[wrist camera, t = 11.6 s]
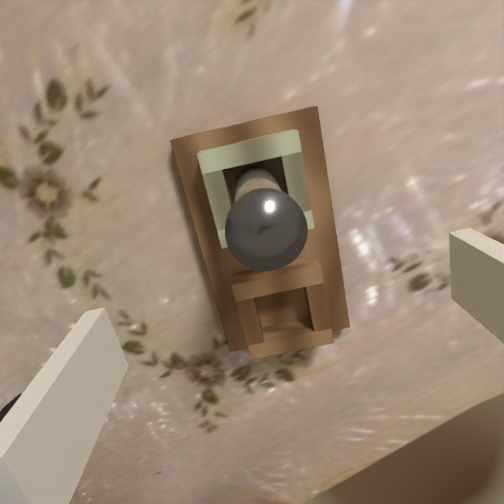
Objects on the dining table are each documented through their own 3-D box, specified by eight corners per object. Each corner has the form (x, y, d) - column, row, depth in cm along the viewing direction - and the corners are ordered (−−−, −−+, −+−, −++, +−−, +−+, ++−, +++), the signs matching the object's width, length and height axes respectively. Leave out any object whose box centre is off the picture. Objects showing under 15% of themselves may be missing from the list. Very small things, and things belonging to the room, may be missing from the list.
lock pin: (237, 216, 38) (235, 278, 24) (225, 167, 36) (215, 202, 22) (285, 205, 38) (313, 261, 23) (276, 155, 36) (300, 183, 22)
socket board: (230, 341, 45) (229, 368, 41) (173, 139, 37) (163, 142, 32) (345, 318, 45) (357, 342, 40) (313, 106, 36) (324, 105, 32)
